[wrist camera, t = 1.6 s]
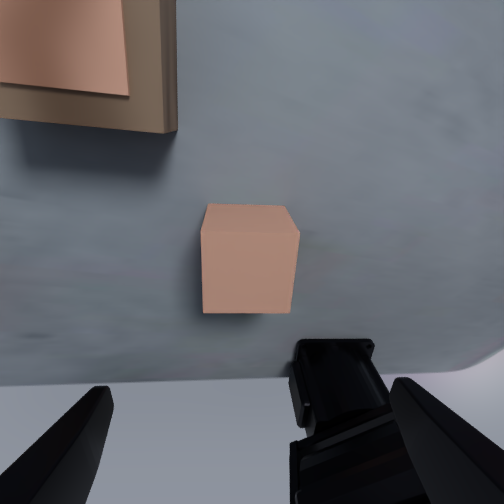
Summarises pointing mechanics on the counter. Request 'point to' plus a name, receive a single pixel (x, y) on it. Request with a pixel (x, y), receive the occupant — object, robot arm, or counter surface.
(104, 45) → the oak base block
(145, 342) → the counter surface
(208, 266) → the terracotta cube
